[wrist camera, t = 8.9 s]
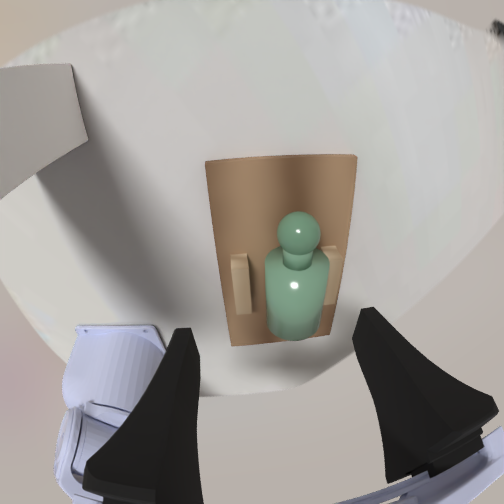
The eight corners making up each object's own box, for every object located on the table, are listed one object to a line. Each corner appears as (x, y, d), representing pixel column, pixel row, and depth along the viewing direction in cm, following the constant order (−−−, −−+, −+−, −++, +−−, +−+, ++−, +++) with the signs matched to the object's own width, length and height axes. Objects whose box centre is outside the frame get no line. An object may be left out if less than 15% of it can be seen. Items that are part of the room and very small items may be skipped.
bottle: (277, 347, 20) (279, 238, 15) (258, 308, 24) (254, 204, 18) (329, 330, 21) (349, 224, 16) (306, 295, 25) (314, 195, 19)
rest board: (231, 341, 28) (232, 361, 26) (205, 161, 17) (202, 172, 15) (328, 330, 28) (334, 348, 26) (353, 154, 18) (368, 165, 16)
